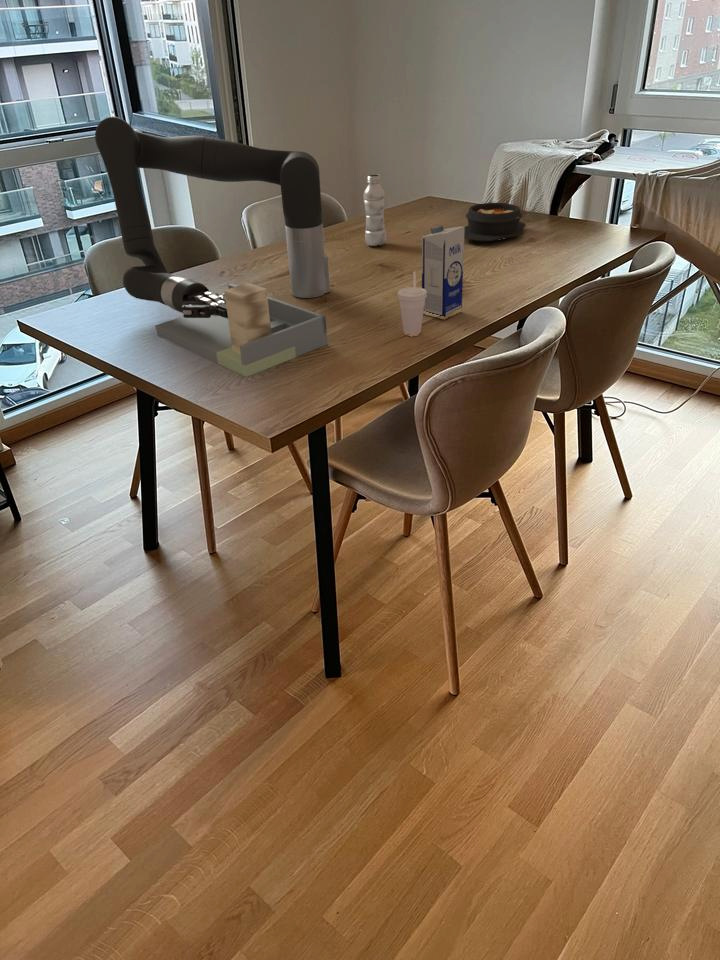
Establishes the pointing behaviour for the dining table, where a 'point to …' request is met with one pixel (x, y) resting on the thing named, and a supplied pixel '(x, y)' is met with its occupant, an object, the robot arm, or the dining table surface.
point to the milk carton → (443, 269)
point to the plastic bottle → (374, 211)
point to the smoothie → (412, 307)
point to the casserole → (493, 222)
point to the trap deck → (287, 340)
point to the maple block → (247, 314)
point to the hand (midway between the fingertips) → (231, 313)
